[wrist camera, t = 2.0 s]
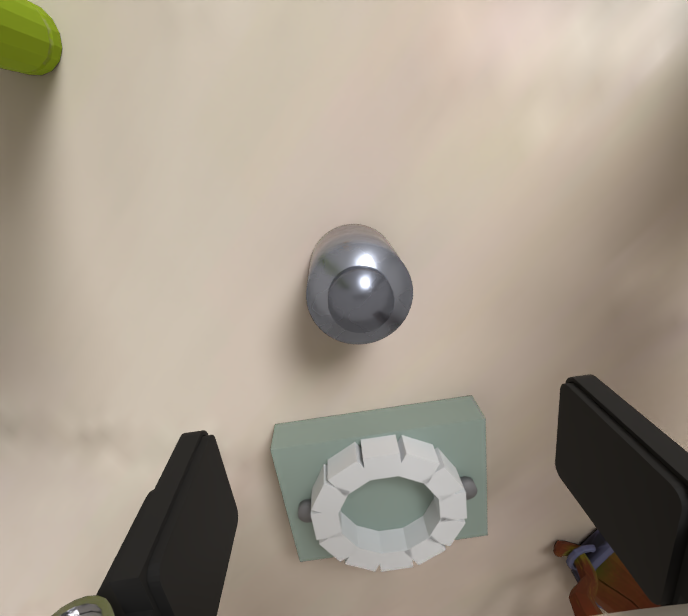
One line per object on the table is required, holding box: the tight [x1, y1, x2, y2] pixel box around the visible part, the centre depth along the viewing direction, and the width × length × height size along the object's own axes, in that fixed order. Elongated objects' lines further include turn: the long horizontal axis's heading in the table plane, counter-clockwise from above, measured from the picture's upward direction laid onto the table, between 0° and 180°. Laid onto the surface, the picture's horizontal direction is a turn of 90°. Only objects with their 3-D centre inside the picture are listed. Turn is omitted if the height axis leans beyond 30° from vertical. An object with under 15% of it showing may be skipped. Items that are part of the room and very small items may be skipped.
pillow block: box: [271, 395, 488, 572], centre depth 33 cm, size 16×12×5 cm
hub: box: [306, 224, 413, 344], centre depth 25 cm, size 6×6×7 cm
